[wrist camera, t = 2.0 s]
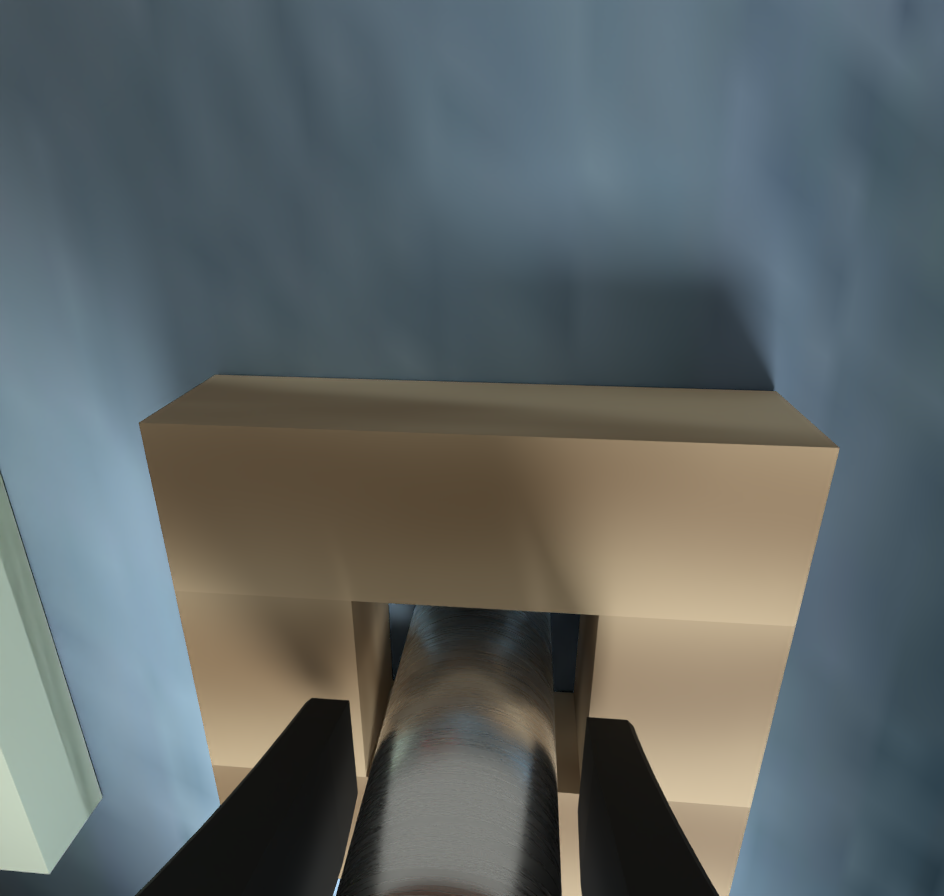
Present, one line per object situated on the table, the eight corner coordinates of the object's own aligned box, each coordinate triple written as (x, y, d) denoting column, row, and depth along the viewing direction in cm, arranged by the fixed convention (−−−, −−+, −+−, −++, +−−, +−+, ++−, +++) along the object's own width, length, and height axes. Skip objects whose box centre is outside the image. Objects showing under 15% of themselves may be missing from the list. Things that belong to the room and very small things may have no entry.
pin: (568, 688, 14) (609, 1254, 7) (397, 677, 14) (253, 1205, 7) (581, 537, 13) (650, 1051, 5) (388, 528, 13) (196, 1001, 5)
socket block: (694, 800, 15) (724, 913, 13) (277, 767, 16) (233, 868, 13) (776, 391, 11) (839, 447, 9) (215, 374, 12) (139, 422, 10)
